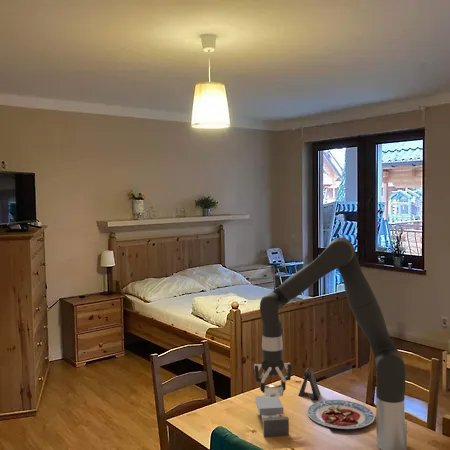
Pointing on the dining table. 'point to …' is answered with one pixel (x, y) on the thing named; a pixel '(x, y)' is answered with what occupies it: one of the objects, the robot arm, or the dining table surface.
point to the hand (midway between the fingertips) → (272, 391)
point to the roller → (273, 390)
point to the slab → (268, 405)
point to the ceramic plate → (341, 414)
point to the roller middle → (269, 416)
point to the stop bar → (275, 426)
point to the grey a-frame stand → (314, 386)
